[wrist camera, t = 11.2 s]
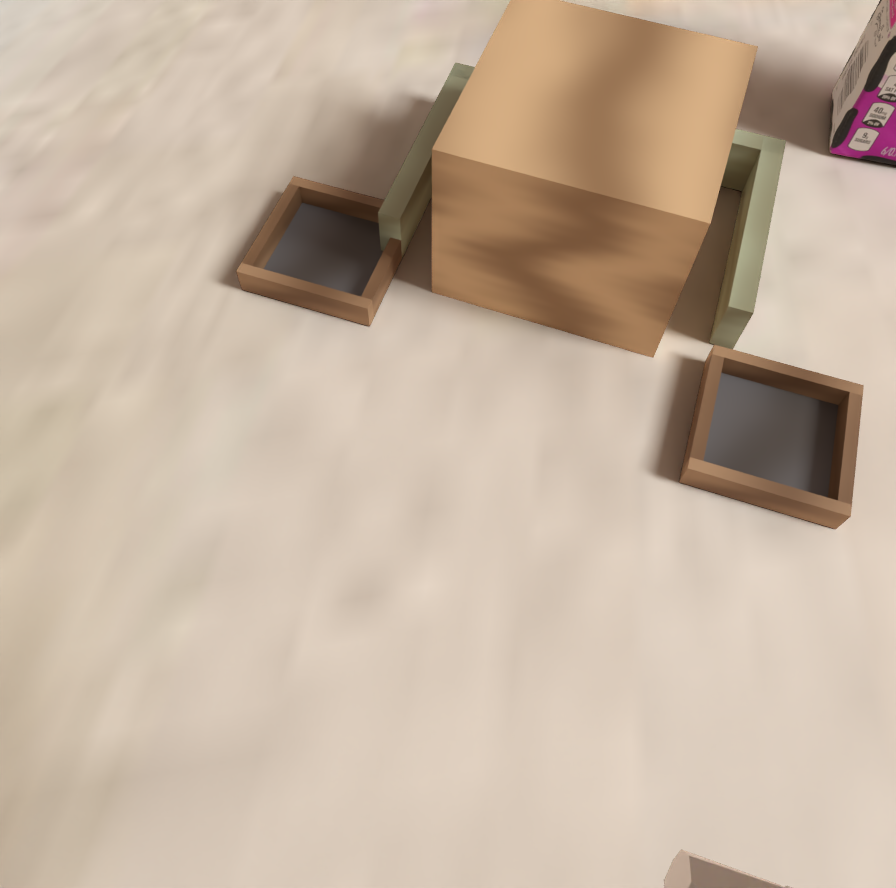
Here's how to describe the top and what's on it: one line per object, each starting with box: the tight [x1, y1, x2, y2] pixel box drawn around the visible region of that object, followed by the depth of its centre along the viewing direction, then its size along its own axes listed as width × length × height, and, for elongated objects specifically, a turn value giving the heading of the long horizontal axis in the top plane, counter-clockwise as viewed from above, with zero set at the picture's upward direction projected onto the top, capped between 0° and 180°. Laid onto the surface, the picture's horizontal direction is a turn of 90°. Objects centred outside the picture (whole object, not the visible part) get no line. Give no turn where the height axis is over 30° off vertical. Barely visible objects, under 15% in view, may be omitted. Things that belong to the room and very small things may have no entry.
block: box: [432, 0, 758, 357], centre depth 33 cm, size 10×10×8 cm
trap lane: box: [236, 63, 864, 529], centre depth 35 cm, size 26×18×2 cm
